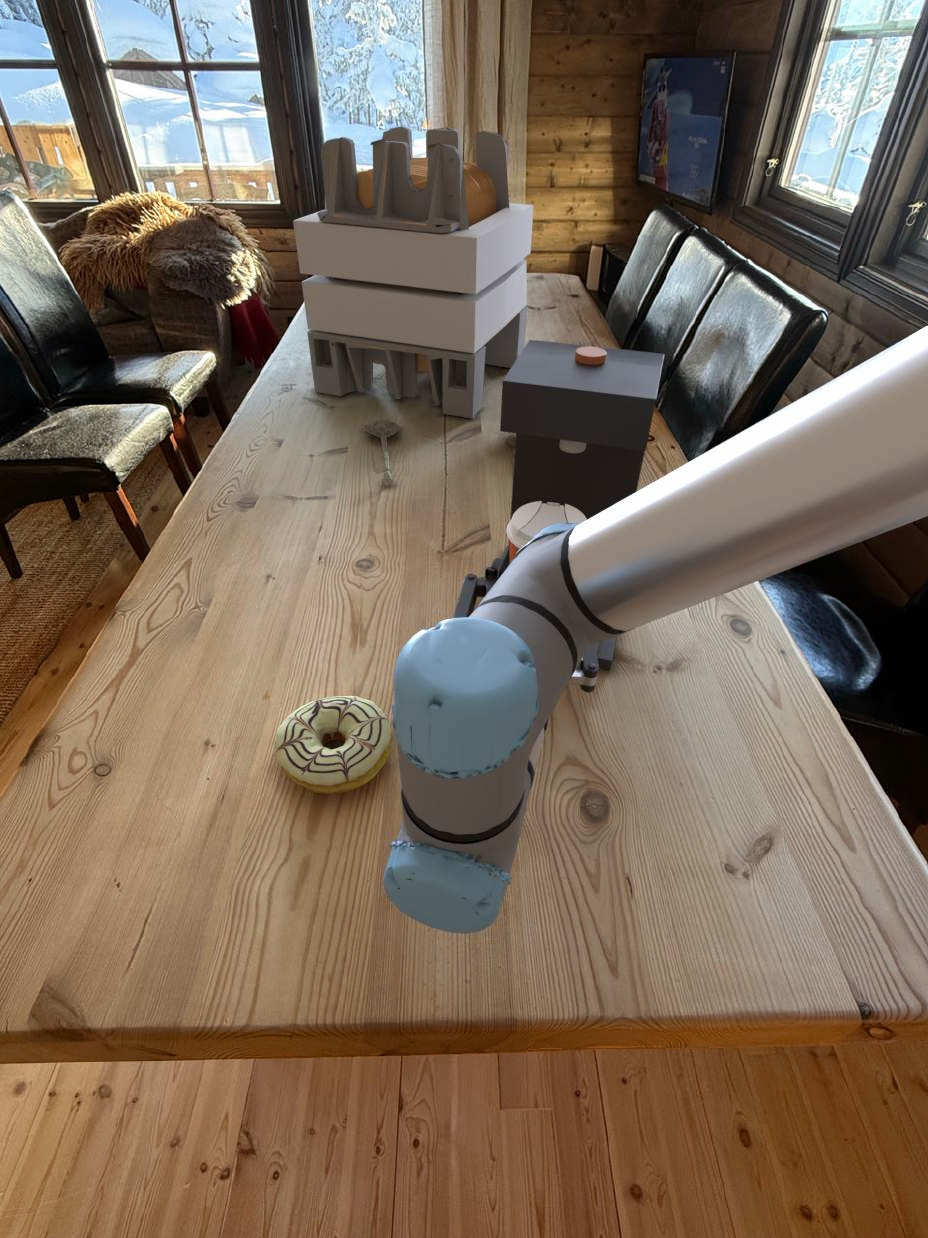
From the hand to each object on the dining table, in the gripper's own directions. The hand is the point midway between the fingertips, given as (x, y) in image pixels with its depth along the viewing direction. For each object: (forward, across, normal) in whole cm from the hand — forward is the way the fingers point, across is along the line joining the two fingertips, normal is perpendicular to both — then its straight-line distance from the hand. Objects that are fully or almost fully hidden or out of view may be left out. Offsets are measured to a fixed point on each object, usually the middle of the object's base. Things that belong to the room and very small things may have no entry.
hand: (551, 553), depth 67 cm
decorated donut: (-21, -16, -13) cm, 29 cm away
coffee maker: (+6, 0, -12) cm, 14 cm away
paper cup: (-5, 0, -7) cm, 9 cm away
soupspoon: (+38, -34, -13) cm, 52 cm away
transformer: (+72, -39, -12) cm, 83 cm away
